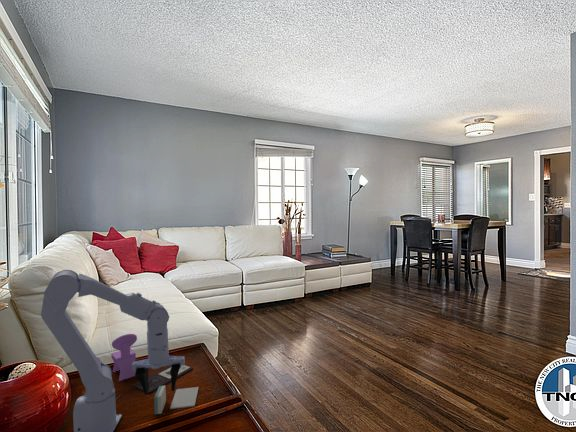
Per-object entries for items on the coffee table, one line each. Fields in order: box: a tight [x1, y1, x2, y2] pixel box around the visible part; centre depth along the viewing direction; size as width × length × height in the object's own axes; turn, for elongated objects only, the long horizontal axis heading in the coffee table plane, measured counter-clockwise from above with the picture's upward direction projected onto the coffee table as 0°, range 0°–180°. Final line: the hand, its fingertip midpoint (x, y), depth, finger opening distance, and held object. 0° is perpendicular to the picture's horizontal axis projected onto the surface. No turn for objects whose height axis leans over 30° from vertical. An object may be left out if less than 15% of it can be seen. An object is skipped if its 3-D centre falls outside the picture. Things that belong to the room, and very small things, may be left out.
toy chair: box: [110, 333, 138, 382], centre depth 116 cm, size 8×9×15 cm
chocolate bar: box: [131, 364, 194, 395], centre depth 113 cm, size 9×1×18 cm
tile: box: [153, 385, 167, 415], centre depth 96 cm, size 2×6×5 cm, turn 9°
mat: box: [169, 386, 200, 410], centre depth 100 cm, size 7×10×1 cm
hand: (160, 390), depth 96 cm, fingers open, 7 cm apart
